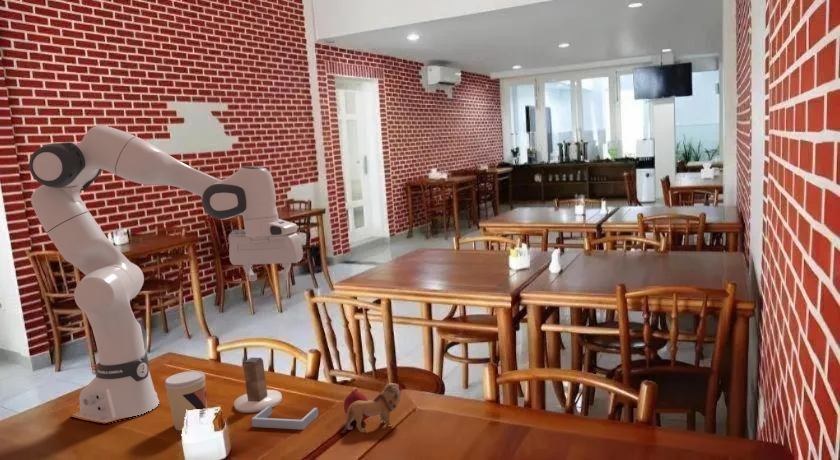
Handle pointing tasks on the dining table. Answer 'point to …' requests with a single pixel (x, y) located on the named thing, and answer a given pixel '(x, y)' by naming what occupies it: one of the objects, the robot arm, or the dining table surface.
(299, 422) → the grey u-shaped bracket
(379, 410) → the lion figurine
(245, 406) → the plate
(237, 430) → the dining table surface
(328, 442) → the dining table surface
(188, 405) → the coffee cup
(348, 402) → the onion
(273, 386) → the dining table surface
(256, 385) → the brown rectangular block
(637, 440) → the dining table surface
